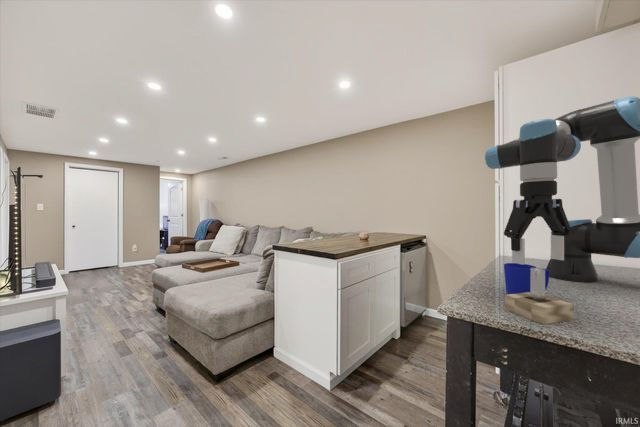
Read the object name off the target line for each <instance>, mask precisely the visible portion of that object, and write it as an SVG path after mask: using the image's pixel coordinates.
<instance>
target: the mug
mask: <svg viewBox="0 0 640 427" xmlns="http://www.w3.org/2000/svg"><path fill="white" fill-rule="evenodd" d="M531 268H537V266H534V265H533V264H526V263H525V264H524V265H522V264H517V263H512V262H508V263H507V262H505V263H504V264H503V269H504V270H503V271H504V281H505V282H504V283H505V292H506V295H509V294H517V293H526V292H530V278H531ZM540 268H541V267H540ZM541 269H543V268H541ZM544 269H545V292H546V290H547V289H548V286H549V282H550V281H549V280H550V276H549V274H550V271H549V270H548V269H546V268H544Z"/></svg>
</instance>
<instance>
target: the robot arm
mask: <svg viewBox="0 0 640 427" xmlns="http://www.w3.org/2000/svg"><path fill="white" fill-rule="evenodd" d="M518 136H519V137H518V138H516V139H513V140H512V141H509V142H507V143H503V144H499V145H498V144H496V145H495V146H491V147H489V148H488V149H487V150H486V151H485V154H484V160H485V161H484V162H485V164H486V166H487V168H490V169H492V170H496V169H499V170H500V169H501V170H502V169H505V168H511V167H518V166H519V167H520V168H519V180H520V181H521V183H520V184H519V195H520V197H523V199H514V200H513V204H512V205H513V206H512V210H511V212H510V215H509V218H508V220H507V224H506V225H505V228H504V232H503V235H504V236H506V237H507V238H509V239H510V249H511V256H512V257H511V258H512V259H511V260H512V262H511V263H517V264H522V265H524V264H526V262H525V261H526V254H525V253H526V250H525V249H526V248H525V243H526V242H525V241H526V240H525V238H522V237H524V235H525V233H526V231H527V229H528V228H529V227H530V225H531V224H532V221H533V220H534V219H536V218H538V217H539V218H542V219H543V220H544V222H545V223H546V225H547V226H548V228H549V229H550V259H549V261H548V263H547V266H546V268H545V269H548V270H549V271H550V274H549V278H555V279H558V280H563V281H571V282H579V283H580V282H581V283H593V282H594V283H596V282H598V281H599V276H598V275H599V274H598V273H597V270H596V267H595V266H594V263H593V260H592V254H594V255H602V256H612V257H619V258H620V257H622V258H626V259H628V258H631V259H640V214H639V200H638V199H639V198H638V197H639V196H638V184H637V183H638V181H637V165H636V162H637V161H636V147H635V146H636V142H638V140H640V97H639V96H628V97H622V98H619V99H614V100H611V101H607V102H603V103H599V104H595V105H592V106H588V107H584V108H582V109H581V108H579V109H576V110H572V111H570V112H568V113H566V114H563V115H562V116H558V117H557V118H555V119H553V118H543V119H536V120H531V121H529V122H525V123H523V124H522V125H521V126H520V128H519V135H518ZM588 141H589V143H590V144H589V145H590V147H592V148H594V149H596V157H597V168H598V169H597V170H598V172H597V173H598V183H599V184H598V186H599V195H600V196H599V197H600V207H601V215H600V216H599V217H597V218H596V219H595V222H593V221H592V219H591V218H590V219H587V218H586V219H574V220H572V219H571V220H568V218H567V215H566V211H565V209H564V206H563V199H561V198H553V197H554V196H556V195H557V194H558V181H557V180H555V179H557V178H558V163H560V162H566V161H567V162H568V161H570V160H573V158H575V157H576V156H577V155H578V154H579V152H580V151H581V148H582V147H581V146H582V144H581V143H582V142H588Z"/></svg>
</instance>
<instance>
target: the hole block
mask: <svg viewBox="0 0 640 427" xmlns="http://www.w3.org/2000/svg"><path fill="white" fill-rule="evenodd" d="M504 310H505V311H508V312H510V313H513V314H515V315H516V314H517V315H518V316H521V317H524V318H527V319H529V320H531V321H534V322H537V323H539V324H541V325H548V324H554V323H561V322H567V321H573V320H574V303H571V302H569V301H564V300H561V299H558V298H555V297H552V296H549V295H545V302H542V303H539V302H536V301H533V300H530V292H526V293H517V294H509V295H508V294H505V295H504Z"/></svg>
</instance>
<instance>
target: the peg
mask: <svg viewBox="0 0 640 427" xmlns="http://www.w3.org/2000/svg"><path fill="white" fill-rule="evenodd" d="M545 269H546V268H542V269H541V267H540V268H539V267H536V268H531V278H530V300H533V301H536V302H539V303H542V302H545V296H546V291H545Z"/></svg>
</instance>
